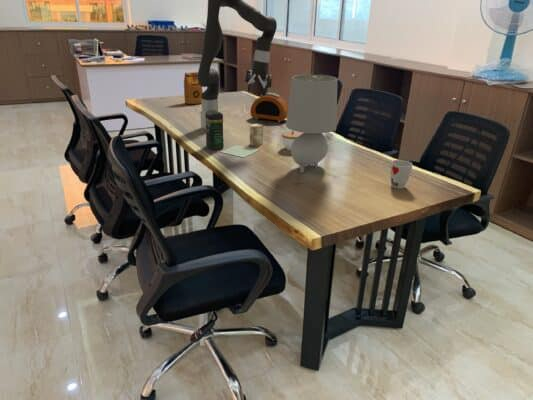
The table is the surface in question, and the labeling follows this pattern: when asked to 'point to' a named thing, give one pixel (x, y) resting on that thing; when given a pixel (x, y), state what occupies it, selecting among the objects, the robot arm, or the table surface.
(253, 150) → the green mat
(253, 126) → the maple block
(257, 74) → the robot arm
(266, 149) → the table surface
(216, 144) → the coffee jar
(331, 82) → the table lamp
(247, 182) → the table surface
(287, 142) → the lidded jar
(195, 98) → the coffee package
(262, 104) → the alarm clock
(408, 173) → the cup
